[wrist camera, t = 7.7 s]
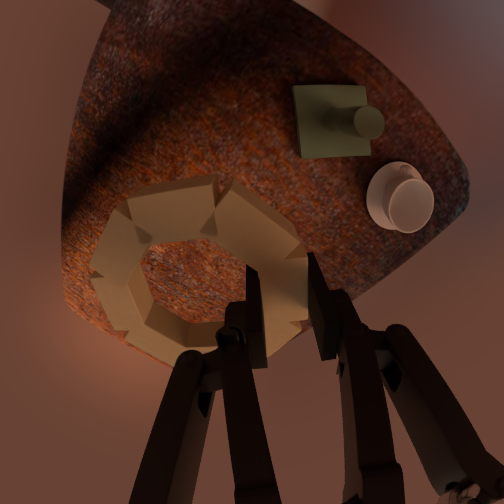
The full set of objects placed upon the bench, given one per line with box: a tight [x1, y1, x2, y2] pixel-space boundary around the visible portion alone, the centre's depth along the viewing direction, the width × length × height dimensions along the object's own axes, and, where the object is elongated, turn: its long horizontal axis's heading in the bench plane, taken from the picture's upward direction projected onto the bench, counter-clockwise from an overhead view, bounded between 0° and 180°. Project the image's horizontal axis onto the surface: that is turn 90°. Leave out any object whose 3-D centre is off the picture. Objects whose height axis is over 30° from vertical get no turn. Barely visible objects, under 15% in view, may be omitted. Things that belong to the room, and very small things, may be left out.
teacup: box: [367, 162, 434, 233], centre depth 32 cm, size 10×10×5 cm
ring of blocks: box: [89, 174, 308, 367], centre depth 17 cm, size 14×14×3 cm
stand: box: [291, 85, 384, 159], centre depth 24 cm, size 9×9×12 cm
